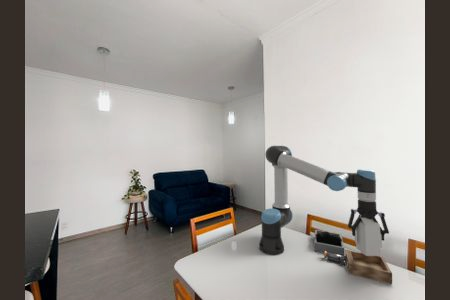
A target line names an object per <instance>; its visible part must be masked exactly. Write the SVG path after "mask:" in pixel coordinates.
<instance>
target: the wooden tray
mask: <svg viewBox="0 0 450 300" xmlns="http://www.w3.org/2000/svg"><path fill="white" fill-rule="evenodd" d="M344 250H345V257H346V261H345V262H346V267H347V270H348V271H347V272H348V274H349V275H353V276H357V277H361V278H365V279H370V280H373V281H378V282H382V283H386V284H390V285H393V273H392V271H391V268H390V267H389V265H388V263H387V262H386V260H385V258H384V257H383V256H382V255H381V256H366V255H364V254H363V253H362V252H361V251H356V250H350V249H346V248H344Z"/></svg>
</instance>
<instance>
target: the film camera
mask: <svg viewBox="0 0 450 300" xmlns="http://www.w3.org/2000/svg"><path fill="white" fill-rule="evenodd" d="M329 232H330V231H326V232H323V233H321V234H320V233H318V234H315V233H314V237H315V236H316V239H317V242H318V243H324V244H329V245H334V246H340V247H341V242H342V240H343V238H342V239H341V238H340V236H337V235H336V234H335V235H331V234H330V233H329Z"/></svg>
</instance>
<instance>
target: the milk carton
mask: <svg viewBox="0 0 450 300" xmlns="http://www.w3.org/2000/svg"><path fill="white" fill-rule="evenodd" d="M359 215H360V214H359ZM360 217H361V215H360ZM360 217H359V218H360ZM361 219H362V220H361V222H360V223H359V225H358V226H357V228H356V230H357V243H355V244H356V249H357V250H358V252H362V253H363V254H364V255H366V256H382V250H381V249H382V248H381V244H380V227H381V225H380V223H379V221H378V220H377V218H376V217H375V219H376V220H377V222H378V223H376V222H374V221H373V219H367V218H362V217H361Z"/></svg>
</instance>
